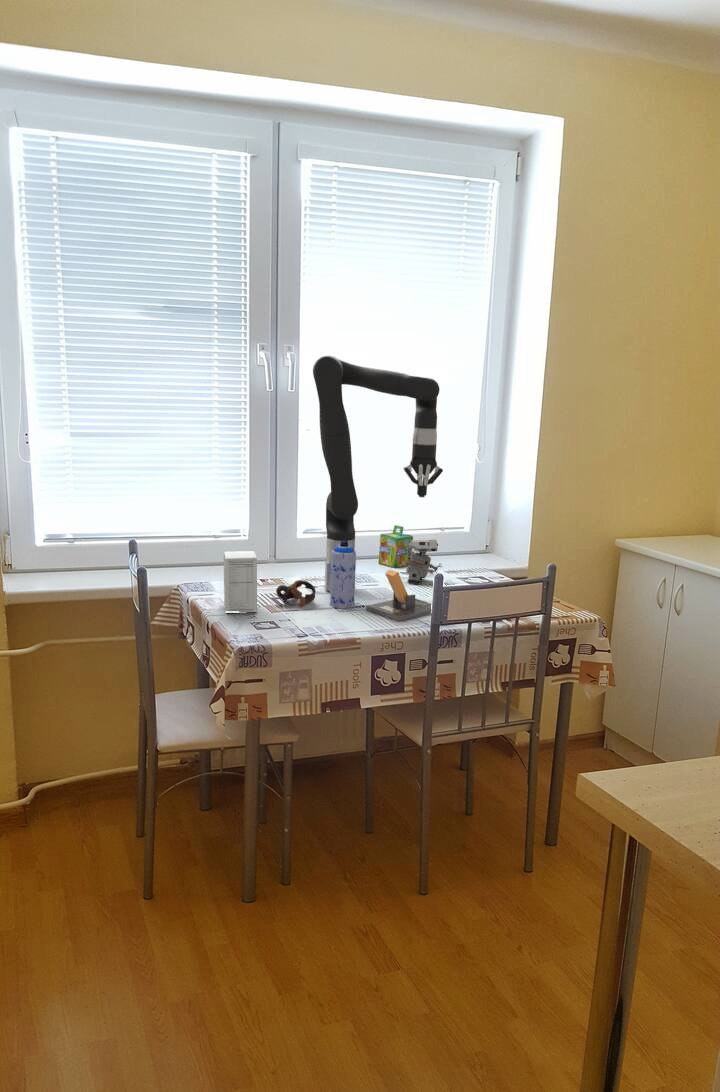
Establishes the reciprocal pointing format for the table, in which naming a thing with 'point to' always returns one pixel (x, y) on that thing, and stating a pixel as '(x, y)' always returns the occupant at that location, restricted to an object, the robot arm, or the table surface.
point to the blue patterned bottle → (343, 576)
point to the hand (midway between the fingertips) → (421, 496)
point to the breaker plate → (401, 608)
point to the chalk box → (394, 548)
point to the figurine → (420, 559)
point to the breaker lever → (397, 586)
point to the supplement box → (240, 581)
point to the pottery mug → (296, 592)
